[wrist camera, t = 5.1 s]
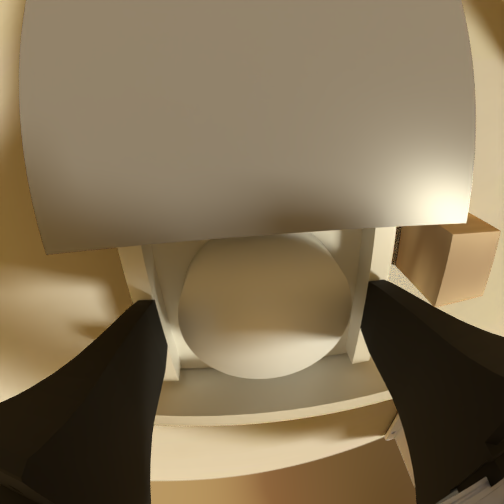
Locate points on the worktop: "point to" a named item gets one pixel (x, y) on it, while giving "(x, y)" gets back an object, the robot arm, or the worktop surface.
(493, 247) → the block
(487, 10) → the worktop surface
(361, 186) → the grey boxy piece
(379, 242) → the tray
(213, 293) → the disc
